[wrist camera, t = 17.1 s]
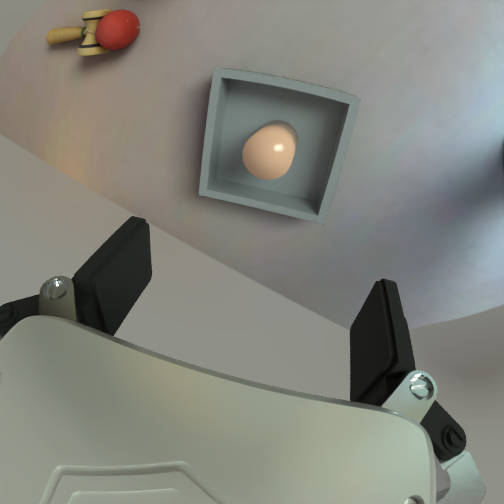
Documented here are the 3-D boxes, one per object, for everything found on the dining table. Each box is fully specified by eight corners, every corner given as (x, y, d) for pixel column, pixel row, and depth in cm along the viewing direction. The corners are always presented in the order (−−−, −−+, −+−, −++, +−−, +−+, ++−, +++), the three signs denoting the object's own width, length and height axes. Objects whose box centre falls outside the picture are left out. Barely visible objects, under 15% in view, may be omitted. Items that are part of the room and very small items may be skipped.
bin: (354, 95, 31) (360, 98, 27) (322, 207, 40) (323, 224, 36) (226, 68, 32) (213, 68, 28) (210, 180, 41) (198, 194, 37)
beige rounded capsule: (303, 127, 34) (298, 141, 27) (291, 163, 36) (283, 186, 30) (263, 115, 34) (248, 126, 27) (253, 151, 37) (237, 171, 30)
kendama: (62, 60, 34) (139, 60, 31) (33, 58, 28) (108, 53, 26) (74, 19, 30) (155, 10, 28) (47, 14, 25) (127, -3, 22)
